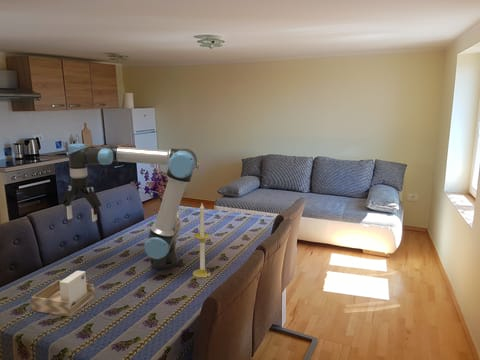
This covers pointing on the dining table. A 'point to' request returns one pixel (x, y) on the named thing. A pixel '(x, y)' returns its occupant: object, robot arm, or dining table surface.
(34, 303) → the cabinet carcass
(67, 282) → the plain off-white rectangular block
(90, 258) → the dining table surface
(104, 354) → the dining table surface
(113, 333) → the dining table surface
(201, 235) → the candle
